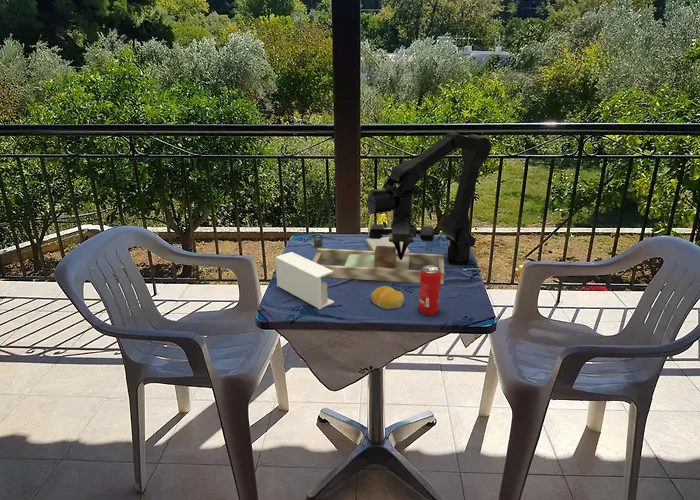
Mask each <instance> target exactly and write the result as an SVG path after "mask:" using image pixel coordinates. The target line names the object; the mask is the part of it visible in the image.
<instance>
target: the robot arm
mask: <svg viewBox="0 0 700 500" xmlns="http://www.w3.org/2000/svg"><path fill="white" fill-rule="evenodd" d="M456 149H461V159H462V162H463V164H462V170H461V174H460V178H459V183H458V187H457V190H456V194H455V198H454V202H453V207H452V210H451V211H450V212H449V213H448V214H447V213H445V214H443V218H442V223H441V225H440V227H441V230H442V233H443V235H444V236H445V239H446V240H447V241H449V244H448V245H446V246H447V249H446V261H447V262H448V265H460V266H461V265H463V266H469V265H470V264H471V263H470V262H471V261H470V255H471V254H470V252H471V247H474V246H475V245H476V242H477V239H476V238H475V237H474V236H473V235H472V234H471V233H470V231H471V230H470V229H471V220H470V217H469V213H470V208H471V205H472V200H473V197H474V192H475V189H476V185H477V180H478V176H479V173H480V169H481V167H482V166H483V165H484V163H485V162H487V160H488V158H489V155H490V153H491V151H492V142H491V140H490V139H489V138H488V137H485V136H482V135H477V134H469V135H467V136H466V135H463V134H460V133H458V132H454V131H453V132H452V131H450V132H447V133H446V134H445V135H444V137H442V138H441V139H439V140H438V141H436V143H433V145H431V146H430V147H428V148H427V149H426V150H424V151H423V152H422V153H420V154H418V155H417V156H416V157H414V158H413V159H409V160H405V161H402V162H401V163H399V164H397V165H394V167H392V169H391V171H390V175H389V176H388V178H387V180H386V181H385V183H384V184H383V185H382V188H380V189H376V188H375V189H370V193H369V195H368V196H367V199H366V208H367V211H368V213H369V214H370V215H375V214H376V215H377V214H382V213H383V214H384V213H390V212H392V215H391V216H392V217H391V218H392V220H391V221H392V222H391V228H386V227H385V224H380V223H379V224H376V223H375V224H374V223H373V224H371V226H370V227H369V228H370V229H369V236H368V237H369V238H370V239H380V238H383V236H389V242H393V244H394V245H395V247H396V250H397V253H398V256H399V259H400V260H402V259H403V256H404V253H405V251H406V248H408V246H409V245H410V244H411V243H414V241H415V238H416V237H419V239H421V241H422V242H434V238H435V231H434V230H435V229H434V227H433V226H429V225H428V226H427V225H420V229H417V224H413V206H414V205H413V204H414V203H413V202H414V196H415V195H420V194H421V191H419V189H417V187H416V185H417V184H418V183H419V182H420V181H421V180H422V178H423V176H424V174H425V173H426V172H427V171H428V170H429V169H431V168H432V167H433V166H434V165H436V164H437V163H439V162H440V161H441V160H443V159H444V158H446V157H447V156H448V155H449V154H451V153H452V152H454V151H455V150H456ZM395 185H396V186H395ZM369 238H368V239H369ZM400 242H403V245H402V251H401V243H400Z"/></svg>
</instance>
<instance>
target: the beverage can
mask: <svg viewBox="0 0 700 500" xmlns="http://www.w3.org/2000/svg"><path fill="white" fill-rule="evenodd" d="M440 270H441V269H440V268H439V267H437V266H434V265H426V266H423V267H422V269H421V271H420V283H419V292H418V308H419V309H418V310H419V312H420V314H422V313H423V314H422V315H424V314H425V315H424V316H435V315H436V314H437V313H438V311H439V309H440V300H441V299H440V298H441V297H440V296H441V295H440V294H441V285H442V284H441V271H440Z"/></svg>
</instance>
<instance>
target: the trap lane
mask: <svg viewBox="0 0 700 500" xmlns="http://www.w3.org/2000/svg"><path fill="white" fill-rule="evenodd" d="M374 253H375V251H370V250H359V249H357V250H356V249H341V248H340V249H337V248H325V249H321V248H317V250H316V254H314V257H313V259H312V260H311V261H313V262H315V263H317V264H319V265H321V266H324V267H326V268H328V269H330V270H332V271H334V273H331V274H329V275H326V276H323V277H322V278H331V279H348V280H349V279H350V280H367V281H368V280H369V281H382V282H399V283H400V282H401V283H414V284H415V283H416V284H420V271H421V269H422V267H423V266H426V265H434V266H437V267H439V268H440V269H441V270H440V271H441V284H440V285H444V284H445V275H446V274H445V262H444V260H445V259H444V254H435V253H418V252H417V253H415V252H414V253H413V252H409V253H404V256H403V259H402V260H400V259H399V256H398V253H397V252H396V261H395V267H394V268H387V267H374Z"/></svg>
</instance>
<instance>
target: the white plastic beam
mask: <svg viewBox="0 0 700 500" xmlns="http://www.w3.org/2000/svg"><path fill="white" fill-rule="evenodd" d="M274 260H275V270H276V272H275V274H276V287H277V288H281V289H282V290H284V291H286V292H287V293H290V294H291V295H293V296H295V297H297V298H299V299H301V300H302V301H303V302H306V303H307V304H310V305H311V306H313V307H315V308H316V309H317V310H321V309H322V308H325V307H327V306H331V305H332V304H334V303H335V301H334V300H332V299H330V298H329V297H328V282H326V281H323V280H322V278H324V277H323V276H326V275H329V274H331V273H334V271H332V270H330V269H328V268H326V267H324V266H321V265H319V264H317V263H315V262H313V261H312V260H311V259H308V258H306V257H303V256H302V255H300V254H297V253H296V252H292V251H290V252H287V253H286V252H285V253H283V254H281V255H280V254H279V255H277V256H275V259H274Z"/></svg>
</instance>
